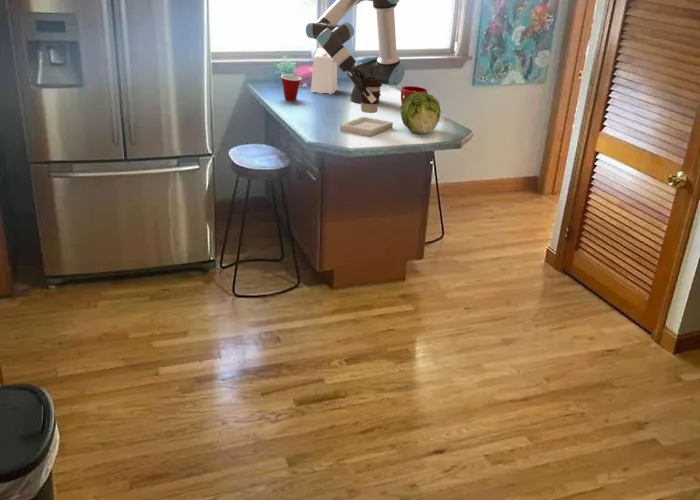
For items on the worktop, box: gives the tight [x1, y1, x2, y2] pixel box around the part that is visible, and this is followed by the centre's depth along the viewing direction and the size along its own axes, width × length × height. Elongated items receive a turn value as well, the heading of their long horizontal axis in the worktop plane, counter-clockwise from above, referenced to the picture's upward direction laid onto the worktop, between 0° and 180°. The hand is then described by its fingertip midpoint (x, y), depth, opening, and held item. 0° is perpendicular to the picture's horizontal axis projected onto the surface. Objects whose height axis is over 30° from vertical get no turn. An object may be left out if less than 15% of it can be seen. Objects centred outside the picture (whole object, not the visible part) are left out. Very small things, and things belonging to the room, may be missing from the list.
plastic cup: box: [280, 74, 303, 102], centre depth 378 cm, size 11×11×12 cm
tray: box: [339, 116, 394, 138], centre depth 331 cm, size 20×16×3 cm
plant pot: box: [400, 85, 428, 110], centre depth 366 cm, size 13×13×12 cm
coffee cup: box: [360, 77, 383, 114], centre depth 327 cm, size 10×10×15 cm
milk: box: [310, 44, 338, 95], centre depth 398 cm, size 12×12×26 cm
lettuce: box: [400, 93, 442, 135], centre depth 329 cm, size 18×23×19 cm
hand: (376, 99), depth 327 cm, fingers closed on coffee cup, 10 cm apart
